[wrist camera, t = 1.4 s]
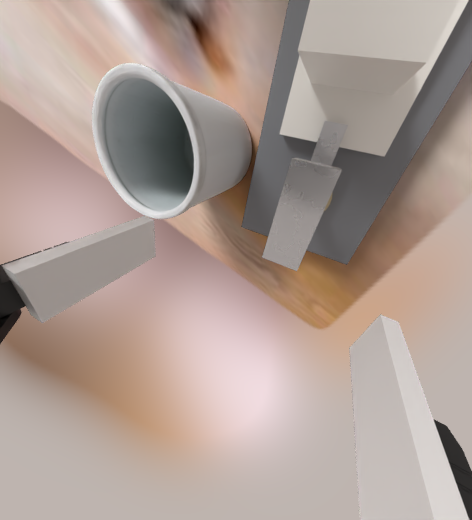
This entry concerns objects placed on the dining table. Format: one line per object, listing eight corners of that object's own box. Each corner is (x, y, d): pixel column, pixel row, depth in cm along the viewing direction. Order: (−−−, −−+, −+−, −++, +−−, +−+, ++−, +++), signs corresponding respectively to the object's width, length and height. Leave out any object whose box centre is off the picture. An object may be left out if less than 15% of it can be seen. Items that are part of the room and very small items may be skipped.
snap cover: (324, -25, 19) (314, -176, 10) (476, -25, 16) (653, -242, 7) (282, 134, 26) (255, 128, 17) (381, 155, 23) (408, 160, 14)
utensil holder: (271, 170, 33) (223, 187, 19) (208, 206, 41) (143, 235, 28) (231, 75, 29) (136, 10, 16) (170, 135, 38) (73, 127, 24)
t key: (319, 122, 23) (307, 105, 14) (354, 128, 22) (366, 115, 13) (283, 225, 31) (261, 257, 22) (309, 233, 30) (296, 271, 21)
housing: (302, -2, 23) (295, -35, 19) (489, 3, 19) (534, -39, 14) (251, 218, 39) (240, 227, 34) (345, 251, 34) (347, 265, 30)
